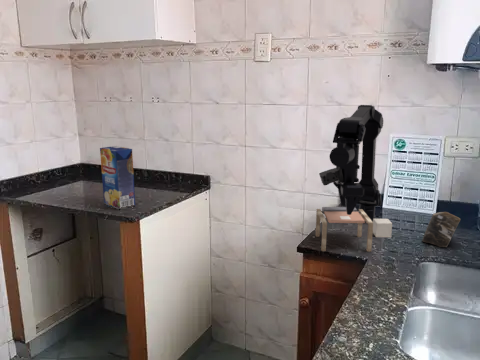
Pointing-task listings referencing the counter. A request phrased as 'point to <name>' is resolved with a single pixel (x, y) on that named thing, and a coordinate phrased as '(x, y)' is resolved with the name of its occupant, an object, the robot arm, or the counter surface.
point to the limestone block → (382, 227)
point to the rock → (441, 229)
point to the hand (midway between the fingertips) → (345, 209)
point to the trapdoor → (342, 215)
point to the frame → (359, 230)
